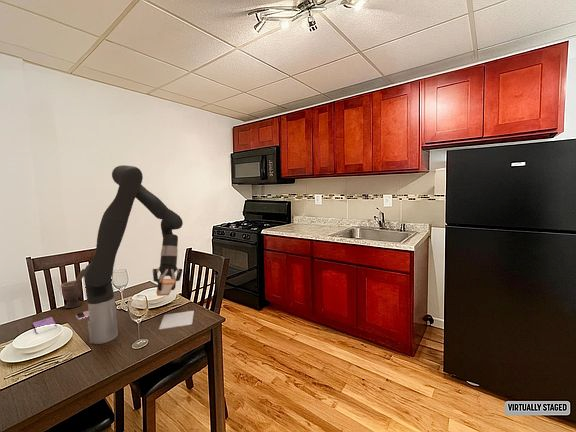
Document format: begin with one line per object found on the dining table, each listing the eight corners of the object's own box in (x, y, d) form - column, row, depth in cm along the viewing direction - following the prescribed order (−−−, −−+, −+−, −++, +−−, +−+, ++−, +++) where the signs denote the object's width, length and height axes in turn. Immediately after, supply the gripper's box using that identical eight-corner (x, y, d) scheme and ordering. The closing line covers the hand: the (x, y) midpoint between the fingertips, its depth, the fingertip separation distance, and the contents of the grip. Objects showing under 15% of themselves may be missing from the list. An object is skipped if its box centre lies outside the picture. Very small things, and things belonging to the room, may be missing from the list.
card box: (156, 291, 132) (162, 278, 129) (167, 291, 136) (173, 278, 133) (157, 296, 130) (163, 283, 127) (168, 295, 134) (175, 282, 131)
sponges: (52, 320, 133) (51, 316, 132) (57, 328, 124) (56, 324, 124) (33, 326, 127) (32, 322, 127) (36, 335, 119) (36, 331, 119)
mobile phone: (75, 313, 136) (109, 303, 147) (75, 315, 136) (109, 305, 147) (78, 318, 131) (113, 307, 142) (78, 320, 131) (113, 309, 142)
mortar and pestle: (88, 299, 155) (84, 266, 152) (92, 303, 149) (87, 269, 147) (62, 306, 146) (58, 271, 144) (65, 311, 141) (60, 274, 138)
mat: (158, 329, 120) (158, 329, 120) (164, 315, 133) (164, 314, 133) (191, 324, 124) (191, 324, 124) (194, 311, 137) (194, 310, 137)
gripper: (156, 254, 126) (153, 291, 123) (186, 255, 136) (184, 290, 133) (151, 255, 131) (147, 290, 128) (180, 256, 141) (177, 289, 138)
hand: (166, 290), depth 130 cm, fingers closed on card box, 5 cm apart
